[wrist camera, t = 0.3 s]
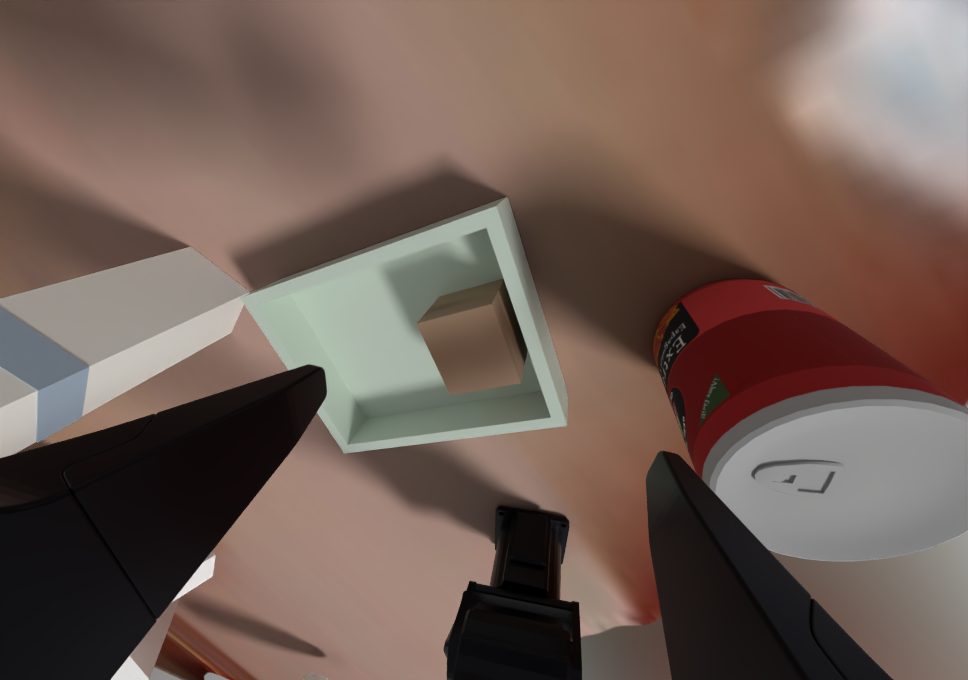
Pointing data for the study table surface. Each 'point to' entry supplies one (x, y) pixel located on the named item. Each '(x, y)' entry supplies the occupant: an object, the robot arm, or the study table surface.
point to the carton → (104, 338)
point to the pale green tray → (411, 335)
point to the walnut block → (475, 338)
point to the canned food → (811, 426)
